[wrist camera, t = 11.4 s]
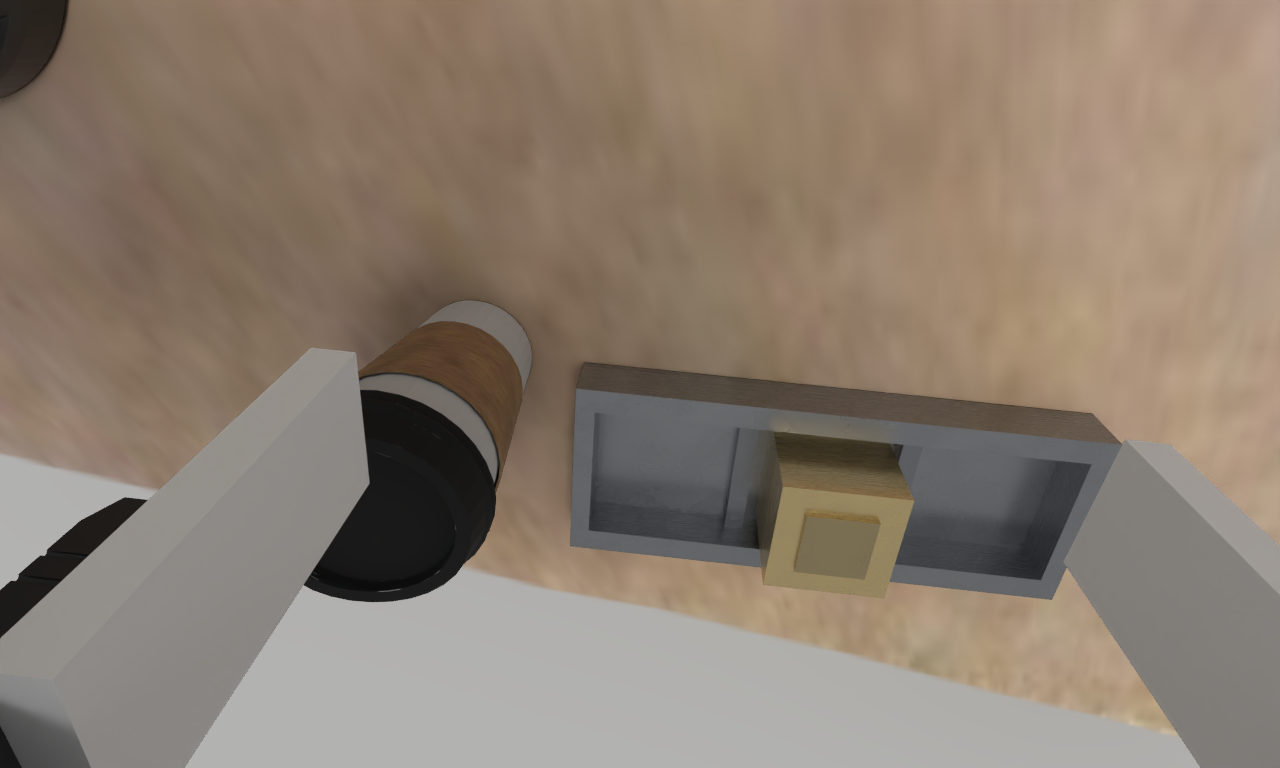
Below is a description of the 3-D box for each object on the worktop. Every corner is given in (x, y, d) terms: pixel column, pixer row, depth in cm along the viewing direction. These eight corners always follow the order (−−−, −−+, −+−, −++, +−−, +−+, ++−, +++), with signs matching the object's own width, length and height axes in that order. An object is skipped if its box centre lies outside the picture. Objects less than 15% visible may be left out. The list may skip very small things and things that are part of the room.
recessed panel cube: (755, 510, 41) (763, 589, 35) (772, 420, 38) (783, 490, 33) (860, 522, 41) (885, 602, 35) (885, 432, 38) (916, 504, 32)
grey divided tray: (578, 513, 43) (570, 546, 40) (584, 362, 38) (575, 388, 35) (1029, 562, 42) (1051, 599, 39) (1092, 413, 37) (1122, 444, 34)
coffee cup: (380, 284, 37) (198, 436, 24) (539, 268, 36) (443, 418, 23) (423, 424, 41) (287, 623, 27) (568, 414, 40) (500, 616, 26)
